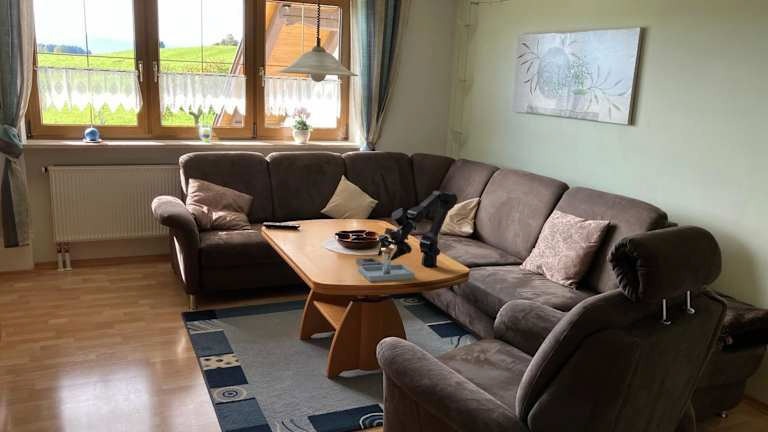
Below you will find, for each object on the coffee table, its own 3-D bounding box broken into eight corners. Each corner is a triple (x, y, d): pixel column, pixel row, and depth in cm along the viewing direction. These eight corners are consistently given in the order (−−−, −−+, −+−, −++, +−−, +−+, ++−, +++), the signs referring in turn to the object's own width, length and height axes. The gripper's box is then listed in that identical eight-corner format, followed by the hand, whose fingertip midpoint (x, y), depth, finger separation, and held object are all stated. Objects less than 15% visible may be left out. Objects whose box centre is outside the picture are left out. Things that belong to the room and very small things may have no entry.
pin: (385, 271, 295) (386, 246, 292) (394, 273, 291) (395, 248, 289) (377, 273, 290) (378, 248, 288) (387, 276, 287) (387, 250, 285)
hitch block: (375, 262, 312) (375, 257, 311) (381, 267, 302) (381, 262, 302) (356, 263, 308) (356, 258, 308) (362, 268, 299) (362, 263, 299)
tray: (401, 268, 302) (402, 263, 301) (414, 278, 287) (414, 273, 287) (358, 271, 294) (358, 266, 294) (369, 281, 280) (369, 276, 279)
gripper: (382, 217, 295) (363, 243, 290) (408, 225, 281) (388, 252, 276) (394, 232, 302) (375, 257, 297) (420, 240, 288) (401, 266, 283)
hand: (384, 257), depth 288 cm, fingers open, 9 cm apart
